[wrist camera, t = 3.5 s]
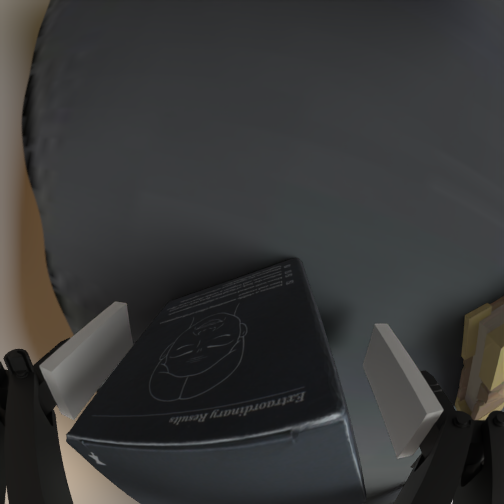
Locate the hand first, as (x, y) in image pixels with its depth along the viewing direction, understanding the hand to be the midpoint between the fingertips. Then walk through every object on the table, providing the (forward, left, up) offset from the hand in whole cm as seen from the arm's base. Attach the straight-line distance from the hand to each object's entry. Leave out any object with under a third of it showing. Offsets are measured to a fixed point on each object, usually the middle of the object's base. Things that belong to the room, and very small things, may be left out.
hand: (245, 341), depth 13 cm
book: (+2, +23, -2) cm, 24 cm away
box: (0, 0, -2) cm, 2 cm away
